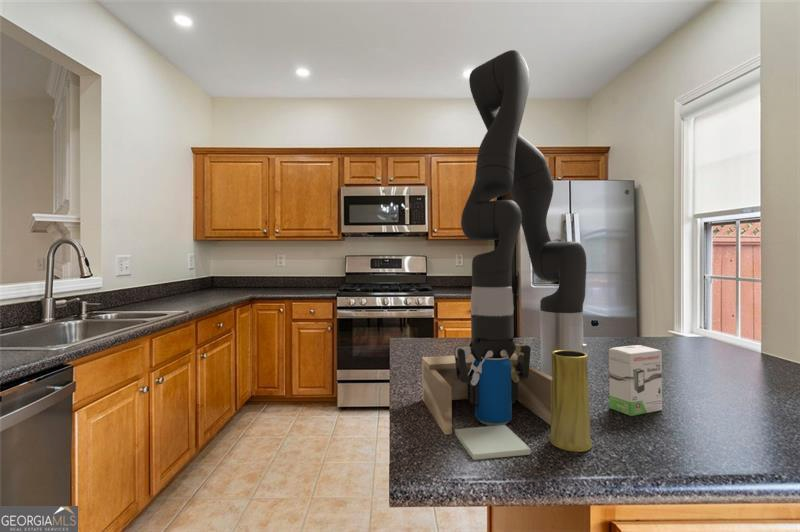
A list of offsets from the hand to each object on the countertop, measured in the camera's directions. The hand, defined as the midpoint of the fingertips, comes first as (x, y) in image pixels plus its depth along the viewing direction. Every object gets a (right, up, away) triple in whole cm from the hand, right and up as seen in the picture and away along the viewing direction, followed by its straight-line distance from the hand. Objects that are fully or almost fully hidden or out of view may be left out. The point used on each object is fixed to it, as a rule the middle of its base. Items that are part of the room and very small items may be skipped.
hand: (492, 402), depth 72 cm
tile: (-3, -3, -9) cm, 10 cm away
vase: (+10, -3, -9) cm, 14 cm away
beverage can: (0, -3, 0) cm, 3 cm away
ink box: (+29, -3, +5) cm, 29 cm away
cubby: (-1, -3, +4) cm, 5 cm away
